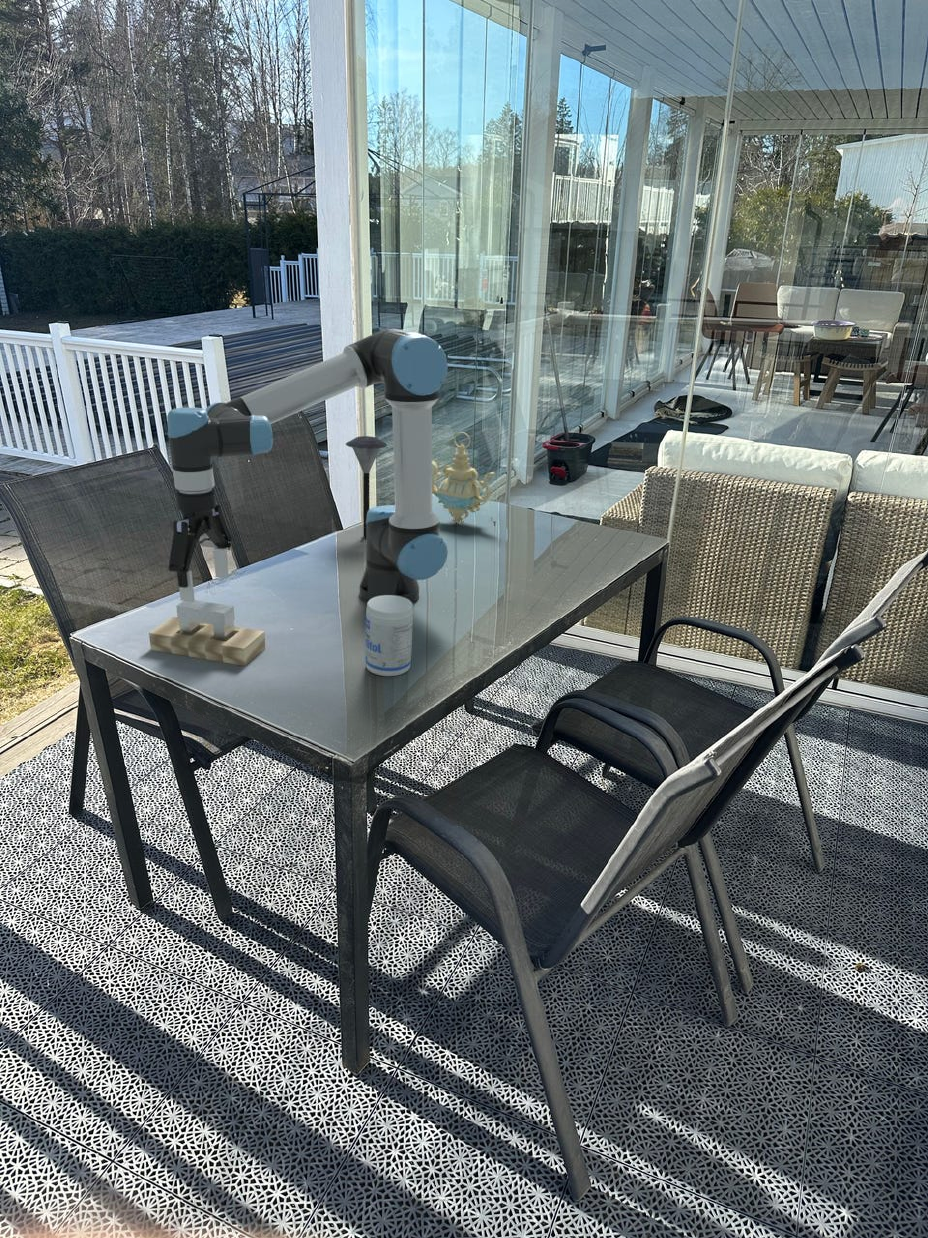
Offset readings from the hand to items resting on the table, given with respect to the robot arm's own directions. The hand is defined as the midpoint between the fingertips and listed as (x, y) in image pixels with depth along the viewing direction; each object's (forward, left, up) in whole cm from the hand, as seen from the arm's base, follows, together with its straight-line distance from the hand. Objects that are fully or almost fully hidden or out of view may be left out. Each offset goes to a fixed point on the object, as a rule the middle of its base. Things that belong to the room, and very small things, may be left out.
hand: (205, 588), depth 170 cm
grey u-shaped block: (0, 0, -14) cm, 14 cm away
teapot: (-27, -108, -14) cm, 112 cm away
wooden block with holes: (0, 0, -14) cm, 14 cm away
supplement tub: (-39, -5, -14) cm, 41 cm away
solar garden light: (-4, -85, -14) cm, 86 cm away
